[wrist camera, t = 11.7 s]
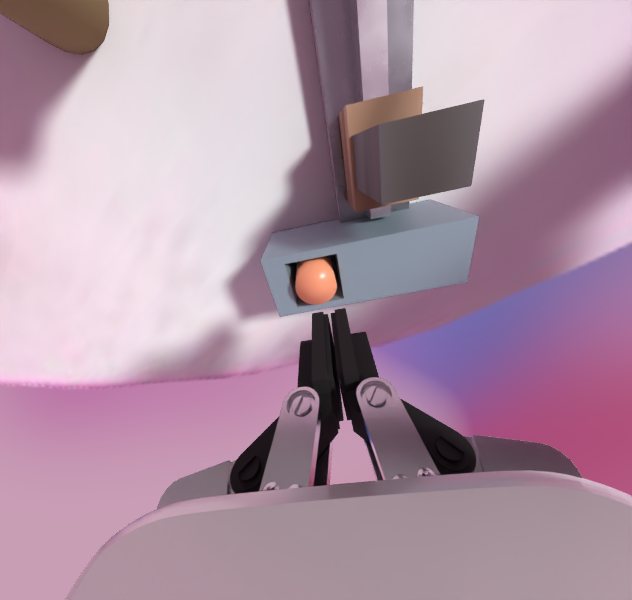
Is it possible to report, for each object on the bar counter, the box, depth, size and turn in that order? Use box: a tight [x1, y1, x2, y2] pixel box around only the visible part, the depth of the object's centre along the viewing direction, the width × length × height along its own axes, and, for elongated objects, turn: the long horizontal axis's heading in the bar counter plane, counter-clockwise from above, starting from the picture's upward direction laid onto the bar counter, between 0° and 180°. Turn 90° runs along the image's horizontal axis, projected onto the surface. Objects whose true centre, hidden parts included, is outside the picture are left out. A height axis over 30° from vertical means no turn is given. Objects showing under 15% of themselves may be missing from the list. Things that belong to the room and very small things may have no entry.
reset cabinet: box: [260, 200, 479, 317], centre depth 20 cm, size 15×5×7 cm, turn 101°
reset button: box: [295, 255, 337, 305], centre depth 19 cm, size 3×3×6 cm
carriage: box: [339, 87, 484, 212], centre depth 14 cm, size 4×6×9 cm
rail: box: [309, 0, 414, 223], centre depth 15 cm, size 6×19×4 cm, turn 11°
